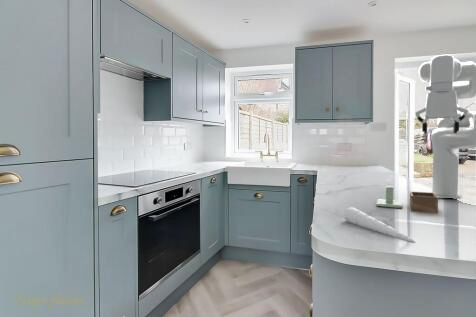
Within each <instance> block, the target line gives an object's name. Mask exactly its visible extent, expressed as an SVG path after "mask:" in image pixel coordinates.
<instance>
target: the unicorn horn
mask: <svg viewBox="0 0 476 317" xmlns="http://www.w3.org/2000/svg"><path fill="white" fill-rule="evenodd" d="M343 219H344V220H345V222H347V223H351V224H353V225H356V226H359V227H362V228H366V229H368V230H372V231H375V232H378V233H381V234H384V235H387V236H390V237H393V238H397V239H400V240H403V241H407V242H411V243H416V241H415V240H414V239H413V238H411V237H409V236H408V235H406V234H404V233H403V232H401V231H398V230H397V229H396V228H394V227H392V226H391V225H388V224H386V223H384V222H383V221H381V220H378V219H377V218H374V217H372V215H371V216H370V215H369V214H367V213H365V212H364V211H361V210H360V209H357V208H356V207H353V206H352V207H351V206H350V207H348V208H346V209H345V210H344V212H343Z"/></svg>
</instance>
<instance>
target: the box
mask: <svg viewBox="0 0 476 317" xmlns="http://www.w3.org/2000/svg"><path fill="white" fill-rule="evenodd" d="M409 209H410V212H419V213H431V214H438V213H439V198H438V197H437V195H436V194H435V193H432V192H424V191H423V192H422V191H409Z"/></svg>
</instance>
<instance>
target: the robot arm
mask: <svg viewBox="0 0 476 317" xmlns="http://www.w3.org/2000/svg"><path fill="white" fill-rule="evenodd" d="M418 74H419V78H420V80H421V81H422V82H425V83H429V86H426V87H425V91H428V92H427V94H426V100H425V107H424V108H421V109H420V110H418V111H415V113H414V116H415V118H417V120H418V121H419V122H420V123H421V124H422V129H421V130H422V131H421V132H423V134H425V135H426V134H428V123H427V121H429V120H431V119H433V120H434V119H436V120H437V128H435V129H434V130H433V131H432V132H431V146H432V188H431V189H432V191H431V193H435V194H436V195H437V197H438V199H442V198H453V199H452V200H460V199H462V195H461V194H458V185H459V184H458V182H459V180H458V179H459V157H458V156H457V154H456V153H454V152H453V150H456V149H459V150H460V149H465V150H468V149H469V150H470V149H475V148H476V111H472V110H471V111H470V110H467V109H466V108H462V107H461V106H459V105H458V100H464V99H472V98H475V97H476V63H475V62H473V61H465V62H461V61H460V60H458V58H454V56H453V55H451V54H440V55H436V56H434V57H432V58H431V60H430V61H427V62H423V63H422V64H421V65H420V66H419V69H418ZM421 114H424V116H425V117H424V118H422V117H421Z"/></svg>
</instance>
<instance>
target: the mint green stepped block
mask: <svg viewBox="0 0 476 317" xmlns="http://www.w3.org/2000/svg"><path fill="white" fill-rule="evenodd" d="M376 206H377V207H378V206H379V207H384V208H393V209H394V208H396V209H398V208H402V209H403V200H402V199H401V200H400V199H394V185H386V186H385V198H377V200H376Z"/></svg>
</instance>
